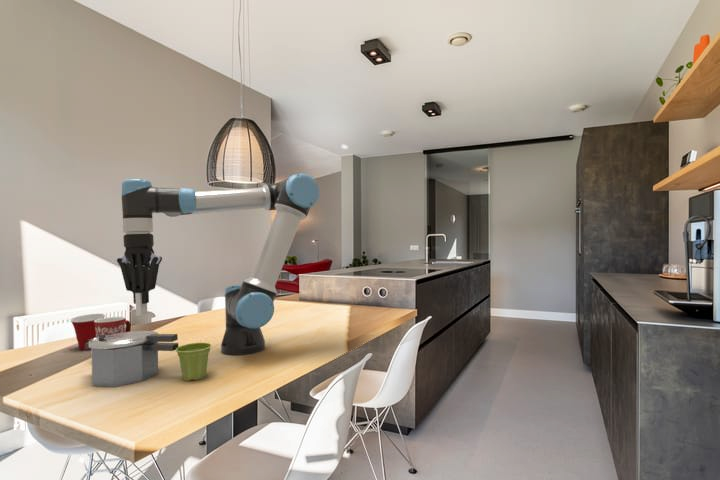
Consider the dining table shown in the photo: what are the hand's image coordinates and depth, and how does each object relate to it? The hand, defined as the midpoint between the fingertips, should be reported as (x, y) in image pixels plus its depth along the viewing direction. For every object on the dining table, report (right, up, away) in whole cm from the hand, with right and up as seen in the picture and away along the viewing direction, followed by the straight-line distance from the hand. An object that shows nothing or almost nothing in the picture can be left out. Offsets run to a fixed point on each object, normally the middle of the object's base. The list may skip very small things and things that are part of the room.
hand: (141, 314), depth 112 cm
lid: (-2, -8, 0) cm, 8 cm away
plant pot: (+16, -18, -2) cm, 24 cm away
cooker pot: (-3, -18, 0) cm, 18 cm away
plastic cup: (-38, -19, +33) cm, 54 cm away
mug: (-20, -19, +20) cm, 34 cm away
